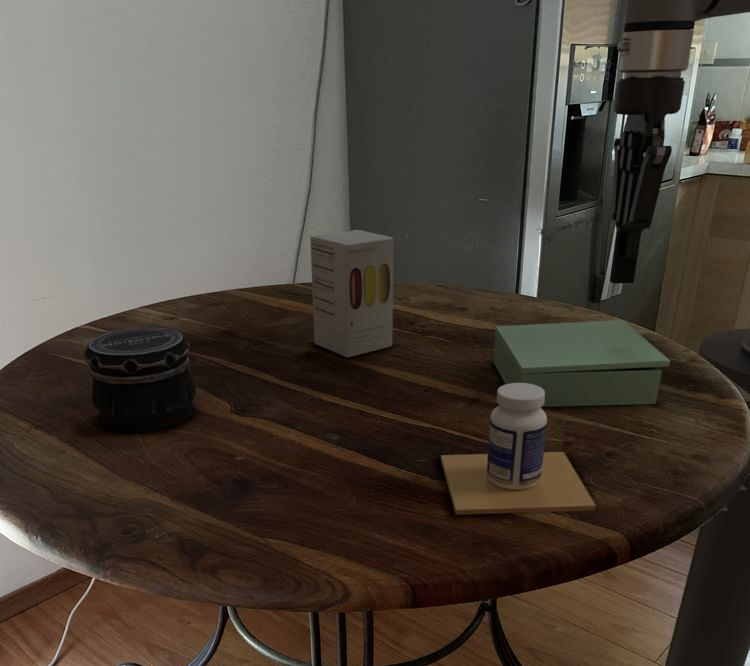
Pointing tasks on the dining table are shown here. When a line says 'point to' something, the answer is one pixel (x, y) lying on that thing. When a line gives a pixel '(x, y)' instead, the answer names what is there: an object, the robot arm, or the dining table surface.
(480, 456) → the cork mat
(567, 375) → the chest
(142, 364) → the container
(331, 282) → the supplement box
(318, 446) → the dining table surface
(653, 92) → the robot arm
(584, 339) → the chest lid
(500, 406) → the pill bottle
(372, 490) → the dining table surface
